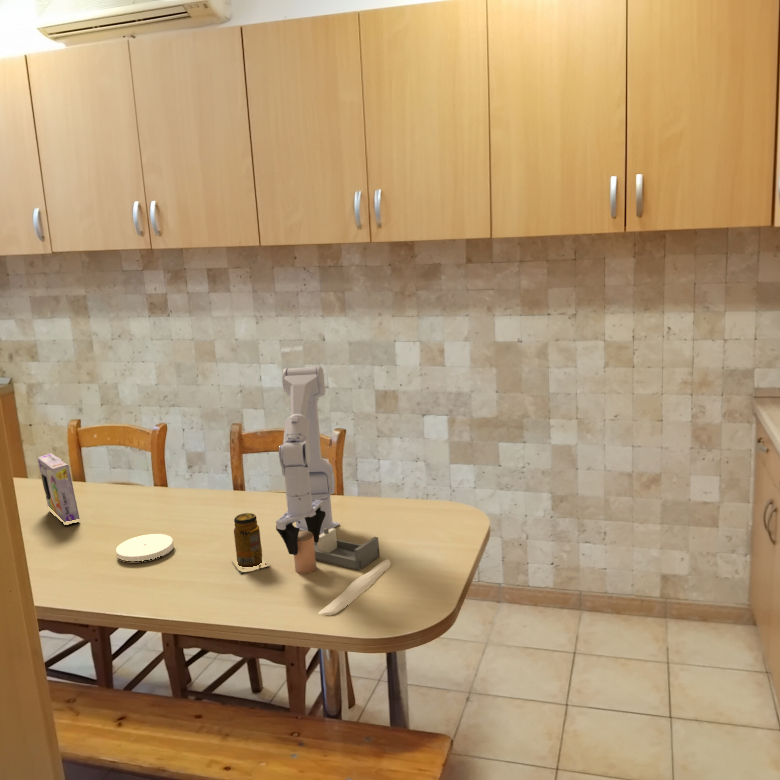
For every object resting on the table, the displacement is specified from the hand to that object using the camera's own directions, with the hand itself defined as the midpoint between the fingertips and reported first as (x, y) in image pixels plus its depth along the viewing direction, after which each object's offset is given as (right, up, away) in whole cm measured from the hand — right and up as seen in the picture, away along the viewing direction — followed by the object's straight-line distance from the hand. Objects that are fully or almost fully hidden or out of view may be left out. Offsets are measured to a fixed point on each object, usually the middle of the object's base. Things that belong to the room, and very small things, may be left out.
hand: (303, 547), depth 186 cm
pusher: (+5, -3, +9) cm, 11 cm away
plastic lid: (-42, -5, +17) cm, 46 cm away
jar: (0, -5, +1) cm, 5 cm away
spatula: (+13, -7, -10) cm, 18 cm away
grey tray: (+7, -3, +7) cm, 11 cm away
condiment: (-13, -5, +6) cm, 16 cm away
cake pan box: (-75, -1, +47) cm, 89 cm away
